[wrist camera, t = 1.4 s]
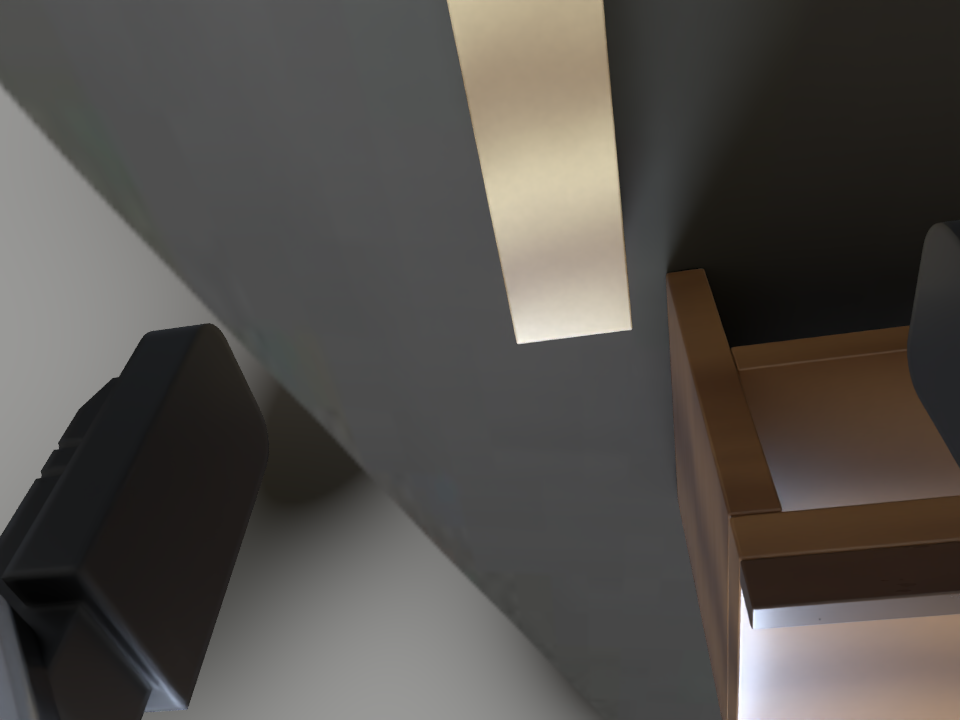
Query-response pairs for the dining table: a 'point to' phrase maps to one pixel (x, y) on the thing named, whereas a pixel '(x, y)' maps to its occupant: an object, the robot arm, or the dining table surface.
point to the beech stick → (548, 160)
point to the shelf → (815, 521)
